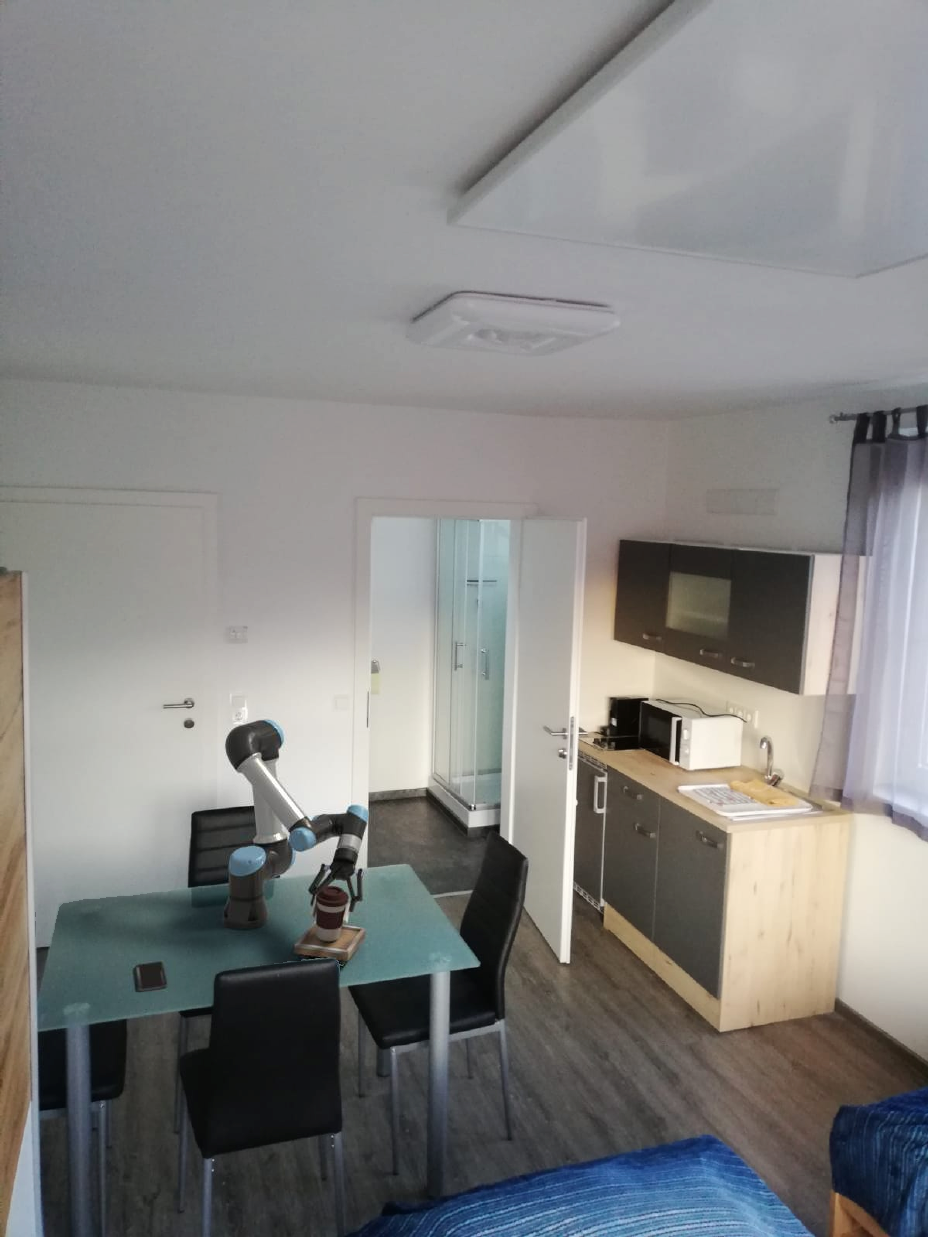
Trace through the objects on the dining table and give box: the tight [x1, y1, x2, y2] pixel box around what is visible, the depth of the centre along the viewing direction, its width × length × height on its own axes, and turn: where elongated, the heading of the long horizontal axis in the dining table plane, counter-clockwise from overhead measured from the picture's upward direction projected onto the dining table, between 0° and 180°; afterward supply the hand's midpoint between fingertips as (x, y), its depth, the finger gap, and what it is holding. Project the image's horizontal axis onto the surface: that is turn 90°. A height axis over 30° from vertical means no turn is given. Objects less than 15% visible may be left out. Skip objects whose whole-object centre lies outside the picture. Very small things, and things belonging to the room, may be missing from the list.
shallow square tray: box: [293, 920, 367, 965], centre depth 277 cm, size 17×17×6 cm
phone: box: [134, 961, 168, 993], centre depth 258 cm, size 8×1×15 cm
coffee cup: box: [315, 885, 350, 941], centre depth 276 cm, size 10×10×15 cm
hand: (328, 919), depth 273 cm, fingers closed on coffee cup, 10 cm apart
